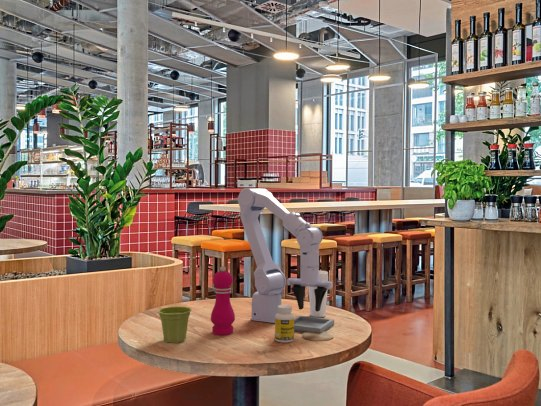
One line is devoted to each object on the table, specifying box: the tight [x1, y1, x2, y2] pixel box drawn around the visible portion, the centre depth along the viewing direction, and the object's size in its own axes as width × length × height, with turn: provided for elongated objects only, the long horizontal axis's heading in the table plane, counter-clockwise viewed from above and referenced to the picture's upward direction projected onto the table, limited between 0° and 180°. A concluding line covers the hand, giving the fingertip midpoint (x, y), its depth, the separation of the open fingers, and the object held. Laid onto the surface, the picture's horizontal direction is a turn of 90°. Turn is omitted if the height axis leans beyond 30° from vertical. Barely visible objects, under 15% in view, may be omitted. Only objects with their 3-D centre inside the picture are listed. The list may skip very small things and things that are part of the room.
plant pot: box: [157, 306, 192, 344], centre depth 150 cm, size 9×9×9 cm
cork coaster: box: [302, 331, 334, 342], centre depth 154 cm, size 9×9×1 cm
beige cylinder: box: [307, 270, 329, 318], centre depth 179 cm, size 7×7×15 cm
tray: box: [294, 314, 335, 333], centre depth 164 cm, size 12×12×2 cm
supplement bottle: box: [274, 304, 295, 344], centre depth 150 cm, size 5×5×10 cm
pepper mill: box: [210, 265, 236, 336], centre depth 158 cm, size 7×7×20 cm
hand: (309, 309), depth 164 cm, fingers open, 5 cm apart
